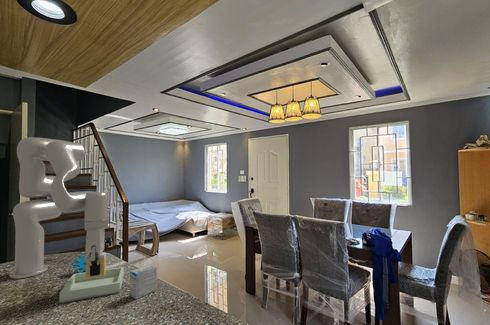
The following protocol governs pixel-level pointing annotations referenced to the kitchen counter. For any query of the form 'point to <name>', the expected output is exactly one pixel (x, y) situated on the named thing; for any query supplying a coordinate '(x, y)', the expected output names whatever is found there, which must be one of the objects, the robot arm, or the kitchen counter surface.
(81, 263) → the gear
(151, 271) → the medicine box
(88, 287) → the parts tray
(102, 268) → the tan and white block
